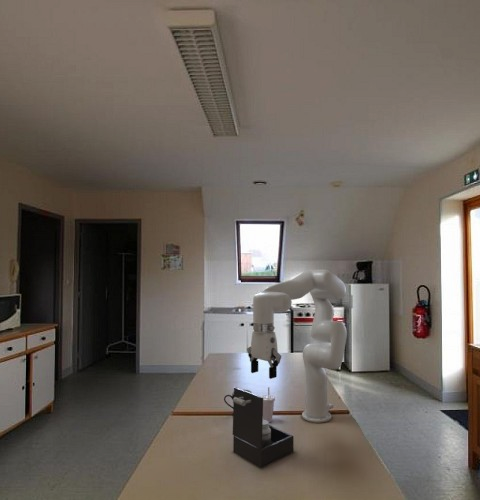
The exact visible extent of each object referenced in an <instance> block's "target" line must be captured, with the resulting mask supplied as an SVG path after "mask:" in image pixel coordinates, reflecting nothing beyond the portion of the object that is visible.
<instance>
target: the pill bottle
mask: <svg viewBox="0 0 480 500" xmlns="http://www.w3.org/2000/svg"><path fill="white" fill-rule="evenodd" d="M269 425H270V422H268V421H267V420H263V426H262V448H264V447H266V446H269V445H271V429H270V428H269Z"/></svg>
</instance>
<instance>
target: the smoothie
mask: <svg viewBox="0 0 480 500" xmlns="http://www.w3.org/2000/svg"><path fill="white" fill-rule="evenodd" d="M260 397H263V420H267V421H268V422H269V423H271V422H272V421H273V413H274V407H275V401H276V397H275V396H274V395H271V394H270V386H268V388H267V394H266V395H262V396H260Z"/></svg>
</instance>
